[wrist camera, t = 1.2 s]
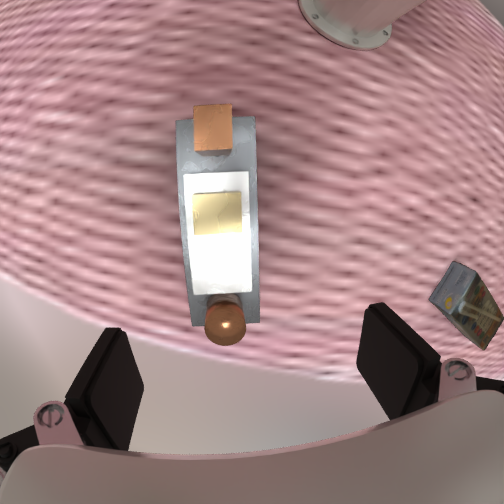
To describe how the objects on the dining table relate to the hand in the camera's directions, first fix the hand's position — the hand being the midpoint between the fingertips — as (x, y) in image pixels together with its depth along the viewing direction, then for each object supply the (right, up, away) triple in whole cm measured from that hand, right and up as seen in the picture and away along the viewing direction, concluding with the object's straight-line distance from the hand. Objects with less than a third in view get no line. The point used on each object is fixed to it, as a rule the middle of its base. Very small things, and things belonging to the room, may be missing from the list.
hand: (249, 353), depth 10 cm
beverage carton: (+37, -5, +28) cm, 46 cm away
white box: (-3, +6, +15) cm, 16 cm away
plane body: (-3, +7, +19) cm, 21 cm away
